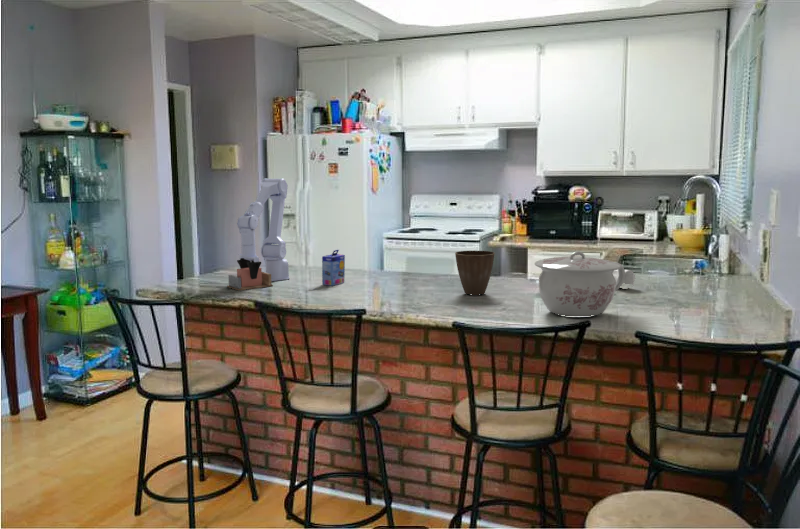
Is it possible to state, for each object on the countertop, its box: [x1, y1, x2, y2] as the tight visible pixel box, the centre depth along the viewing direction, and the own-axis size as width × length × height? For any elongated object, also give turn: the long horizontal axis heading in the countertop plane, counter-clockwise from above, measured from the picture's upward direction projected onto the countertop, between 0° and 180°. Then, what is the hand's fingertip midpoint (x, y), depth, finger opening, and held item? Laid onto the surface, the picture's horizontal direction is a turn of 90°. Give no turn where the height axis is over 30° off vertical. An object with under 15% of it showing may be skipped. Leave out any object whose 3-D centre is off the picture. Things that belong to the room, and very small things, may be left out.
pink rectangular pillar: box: [236, 267, 263, 287], centre depth 265 cm, size 9×4×7 cm, turn 128°
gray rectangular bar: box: [228, 274, 241, 289], centre depth 261 cm, size 1×9×4 cm, turn 39°
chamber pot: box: [534, 251, 626, 316], centre depth 211 cm, size 28×28×21 cm
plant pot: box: [454, 250, 496, 296], centre depth 247 cm, size 15×15×16 cm
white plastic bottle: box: [612, 269, 636, 286], centre depth 261 cm, size 8×19×8 cm, turn 32°
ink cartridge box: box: [321, 249, 346, 287], centre depth 270 cm, size 10×6×14 cm, turn 152°
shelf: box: [227, 271, 273, 291], centre depth 266 cm, size 15×10×5 cm, turn 129°
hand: (249, 277), depth 265 cm, fingers open, 7 cm apart
